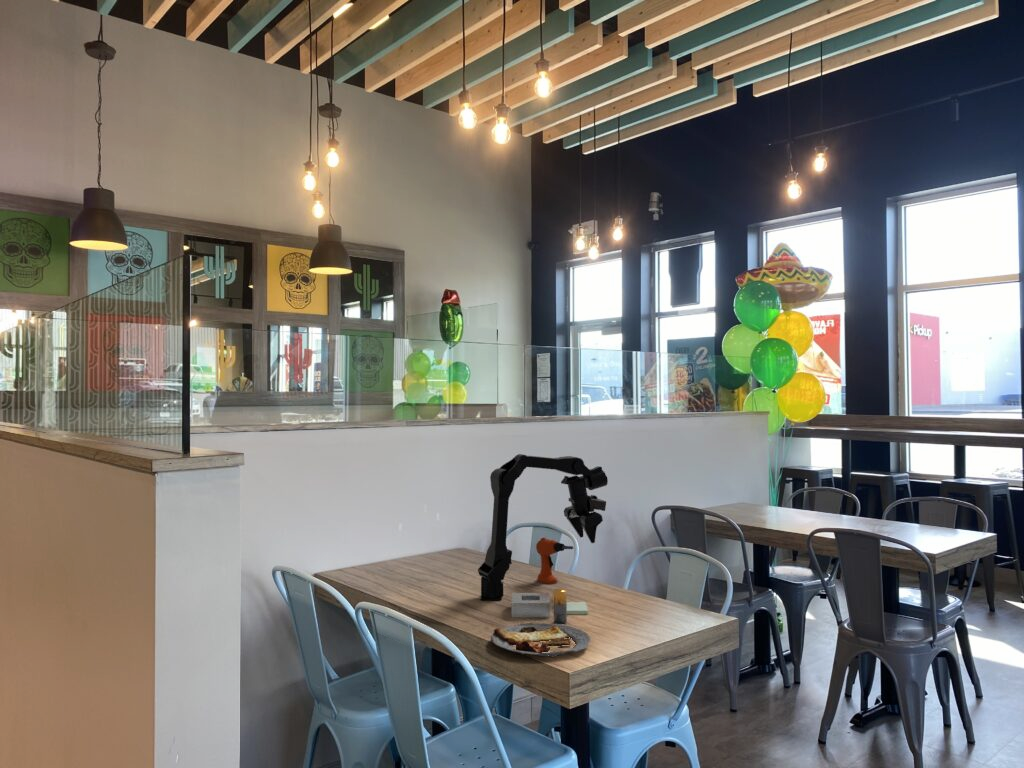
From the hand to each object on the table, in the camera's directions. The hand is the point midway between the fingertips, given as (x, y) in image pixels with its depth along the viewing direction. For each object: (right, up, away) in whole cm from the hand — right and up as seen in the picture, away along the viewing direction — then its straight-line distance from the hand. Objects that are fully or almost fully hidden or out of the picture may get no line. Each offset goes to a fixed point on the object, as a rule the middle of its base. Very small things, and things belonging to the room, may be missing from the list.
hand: (587, 540), depth 254 cm
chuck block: (-19, -15, -30) cm, 38 cm away
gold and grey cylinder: (-11, -15, -41) cm, 45 cm away
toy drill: (-10, -15, +3) cm, 19 cm away
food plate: (-18, -15, -59) cm, 63 cm away
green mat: (-7, -15, -28) cm, 32 cm away
